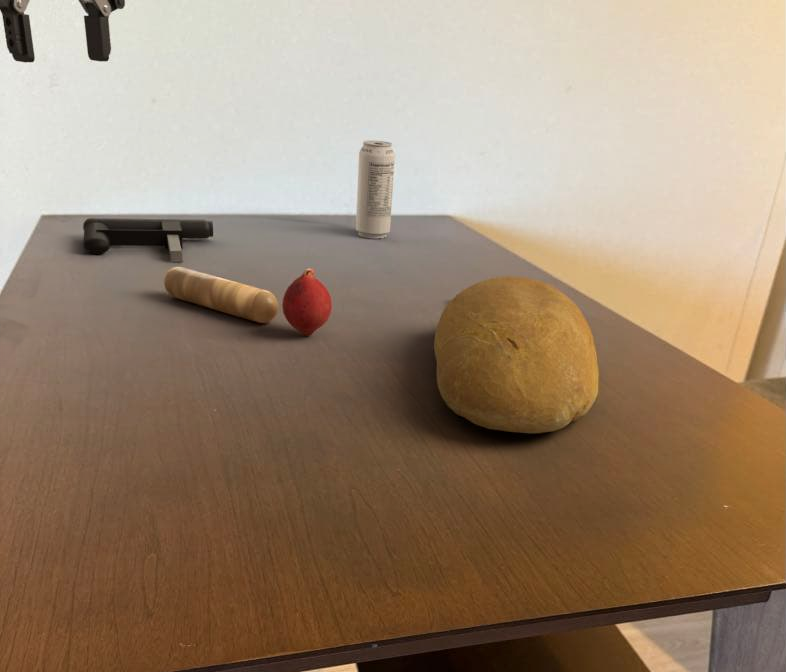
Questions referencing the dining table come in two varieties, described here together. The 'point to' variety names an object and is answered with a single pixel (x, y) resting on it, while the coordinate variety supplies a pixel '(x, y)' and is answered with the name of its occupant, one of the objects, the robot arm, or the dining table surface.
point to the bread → (516, 356)
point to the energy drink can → (374, 189)
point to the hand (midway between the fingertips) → (62, 61)
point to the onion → (307, 303)
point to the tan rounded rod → (221, 294)
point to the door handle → (143, 233)
